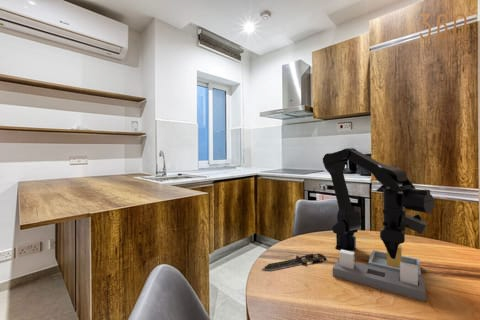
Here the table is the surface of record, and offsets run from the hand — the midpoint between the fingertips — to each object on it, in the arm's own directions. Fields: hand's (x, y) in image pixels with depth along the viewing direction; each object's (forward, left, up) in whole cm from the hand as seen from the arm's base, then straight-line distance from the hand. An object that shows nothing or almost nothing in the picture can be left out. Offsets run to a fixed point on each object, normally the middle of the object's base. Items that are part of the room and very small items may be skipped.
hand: (393, 253), depth 76 cm
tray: (0, 0, -5) cm, 5 cm away
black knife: (-29, -15, -6) cm, 33 cm away
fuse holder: (-4, -12, -5) cm, 14 cm away
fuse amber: (0, 0, -4) cm, 4 cm away
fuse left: (-12, -12, -5) cm, 18 cm away
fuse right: (+4, -12, -5) cm, 14 cm away
